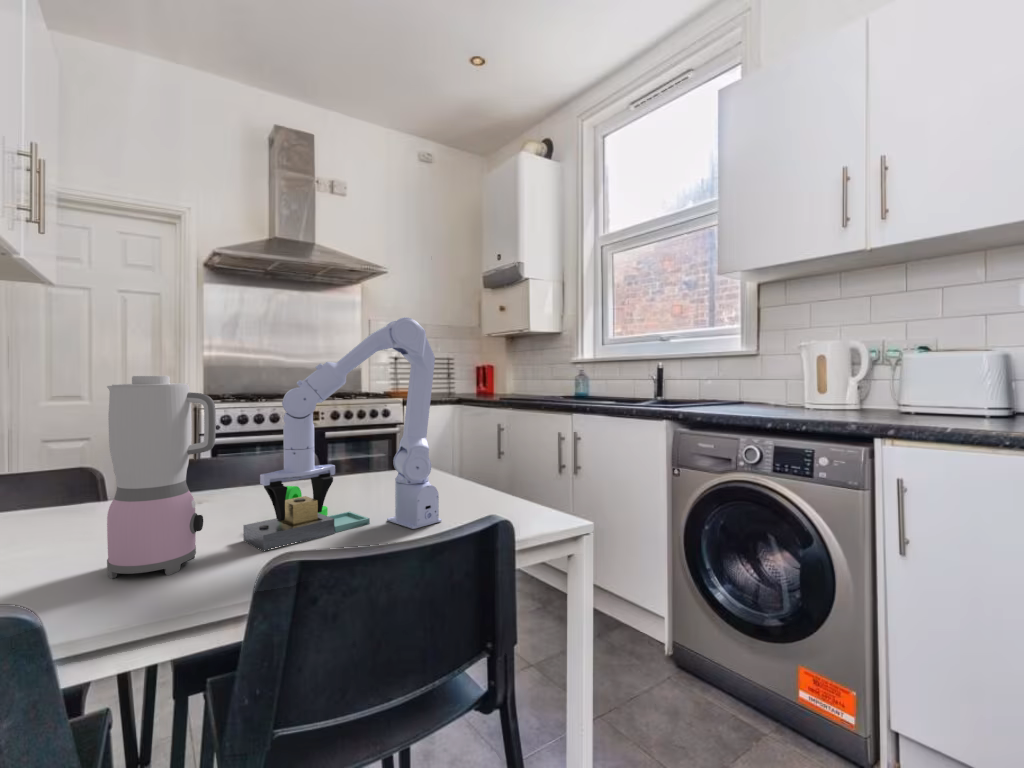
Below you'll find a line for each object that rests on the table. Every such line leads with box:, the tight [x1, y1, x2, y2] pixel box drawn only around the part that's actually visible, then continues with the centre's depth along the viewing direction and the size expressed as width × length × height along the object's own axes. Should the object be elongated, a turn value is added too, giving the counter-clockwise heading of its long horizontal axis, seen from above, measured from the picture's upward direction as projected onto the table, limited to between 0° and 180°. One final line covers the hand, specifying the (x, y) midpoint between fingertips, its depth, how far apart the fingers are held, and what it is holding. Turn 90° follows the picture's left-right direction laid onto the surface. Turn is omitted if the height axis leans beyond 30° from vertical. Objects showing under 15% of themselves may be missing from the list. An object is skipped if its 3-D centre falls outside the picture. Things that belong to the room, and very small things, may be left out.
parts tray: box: [327, 511, 371, 533], centre depth 111 cm, size 8×8×1 cm
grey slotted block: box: [242, 513, 335, 552], centre depth 102 cm, size 9×14×3 cm, turn 138°
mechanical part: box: [285, 485, 329, 516], centre depth 114 cm, size 12×6×8 cm, turn 174°
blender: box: [106, 375, 217, 579], centre depth 87 cm, size 16×12×32 cm
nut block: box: [282, 495, 318, 527], centre depth 103 cm, size 5×5×7 cm
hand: (299, 515), depth 103 cm, fingers open, 7 cm apart
